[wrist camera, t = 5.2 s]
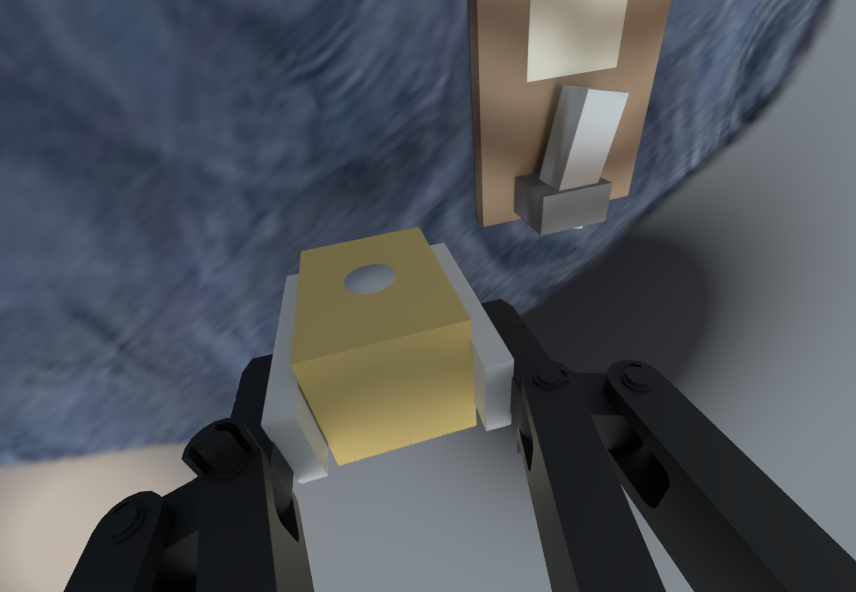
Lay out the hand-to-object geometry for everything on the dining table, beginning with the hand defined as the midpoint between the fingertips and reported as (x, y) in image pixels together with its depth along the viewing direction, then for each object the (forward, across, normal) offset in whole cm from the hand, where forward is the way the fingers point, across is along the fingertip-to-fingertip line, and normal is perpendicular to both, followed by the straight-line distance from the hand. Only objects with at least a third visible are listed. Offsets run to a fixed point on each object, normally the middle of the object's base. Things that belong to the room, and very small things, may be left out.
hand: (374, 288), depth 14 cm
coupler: (+1, 0, 0) cm, 1 cm away
